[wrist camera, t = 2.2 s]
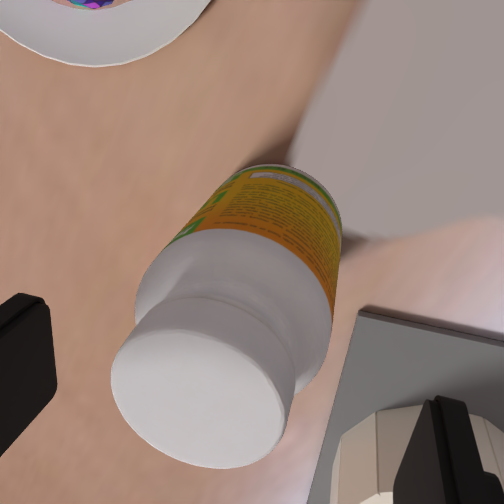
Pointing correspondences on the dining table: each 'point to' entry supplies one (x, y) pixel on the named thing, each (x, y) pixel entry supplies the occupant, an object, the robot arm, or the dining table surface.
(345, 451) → the cream hollow ring
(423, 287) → the dining table surface
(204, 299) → the supplement bottle
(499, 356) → the placemat
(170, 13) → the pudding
